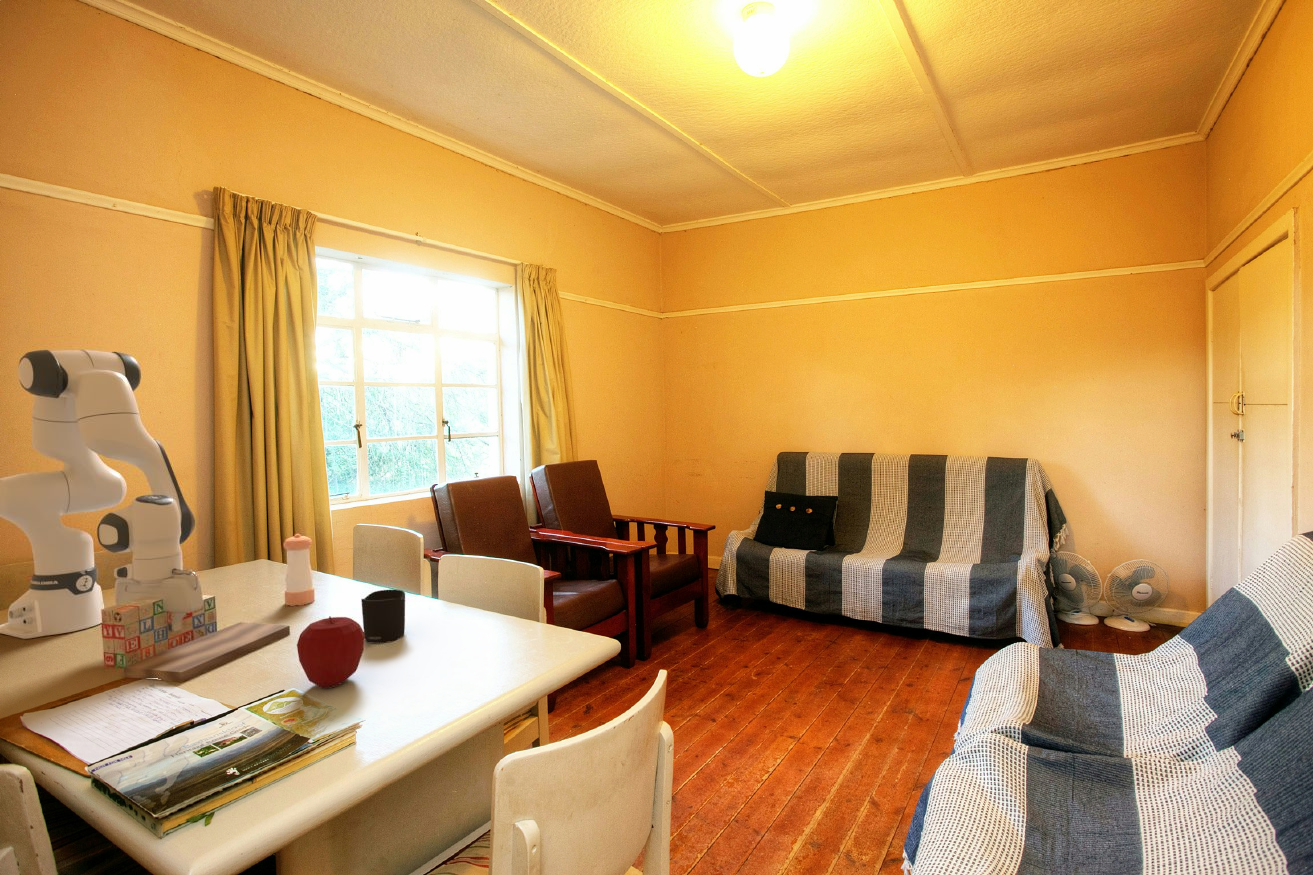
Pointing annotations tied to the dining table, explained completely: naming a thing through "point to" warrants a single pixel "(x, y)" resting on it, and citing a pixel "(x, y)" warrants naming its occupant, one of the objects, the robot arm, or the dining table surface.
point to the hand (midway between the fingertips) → (160, 629)
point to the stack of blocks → (150, 629)
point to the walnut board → (206, 652)
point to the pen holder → (384, 616)
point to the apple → (331, 650)
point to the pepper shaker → (298, 571)
